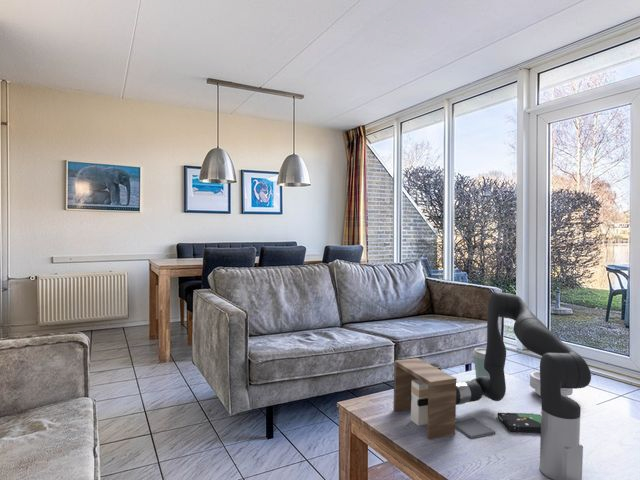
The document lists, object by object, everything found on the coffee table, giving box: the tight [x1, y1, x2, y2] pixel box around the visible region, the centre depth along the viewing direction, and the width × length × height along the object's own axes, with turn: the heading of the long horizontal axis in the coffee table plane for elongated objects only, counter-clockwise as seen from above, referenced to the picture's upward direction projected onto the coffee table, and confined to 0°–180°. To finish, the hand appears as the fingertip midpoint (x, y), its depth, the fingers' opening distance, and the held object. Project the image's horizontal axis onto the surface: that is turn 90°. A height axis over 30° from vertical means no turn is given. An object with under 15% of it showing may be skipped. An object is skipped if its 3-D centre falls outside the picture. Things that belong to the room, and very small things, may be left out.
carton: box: [410, 379, 428, 427], centre depth 141 cm, size 5×5×14 cm
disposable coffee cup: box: [472, 347, 490, 378], centre depth 176 cm, size 11×11×15 cm
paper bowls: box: [529, 370, 574, 397], centre depth 165 cm, size 15×15×8 cm
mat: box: [455, 417, 496, 439], centre depth 136 cm, size 10×10×1 cm
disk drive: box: [497, 412, 541, 434], centre depth 139 cm, size 10×3×15 cm
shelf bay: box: [392, 357, 458, 440], centre depth 141 cm, size 22×10×18 cm, turn 21°
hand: (413, 400), depth 140 cm, fingers closed on carton, 4 cm apart
